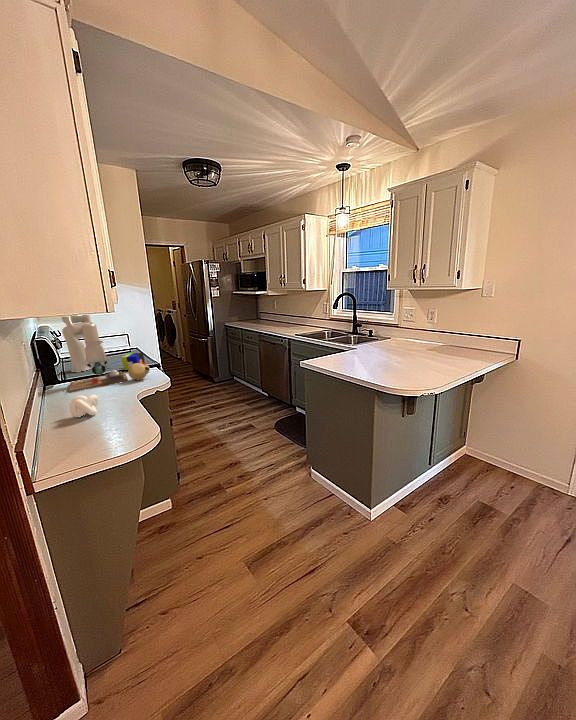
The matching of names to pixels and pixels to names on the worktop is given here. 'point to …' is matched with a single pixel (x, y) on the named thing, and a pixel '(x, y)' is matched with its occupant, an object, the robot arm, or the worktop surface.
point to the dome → (113, 373)
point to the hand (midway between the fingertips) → (99, 372)
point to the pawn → (98, 368)
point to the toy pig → (138, 371)
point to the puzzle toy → (132, 359)
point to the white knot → (83, 405)
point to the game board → (89, 384)
